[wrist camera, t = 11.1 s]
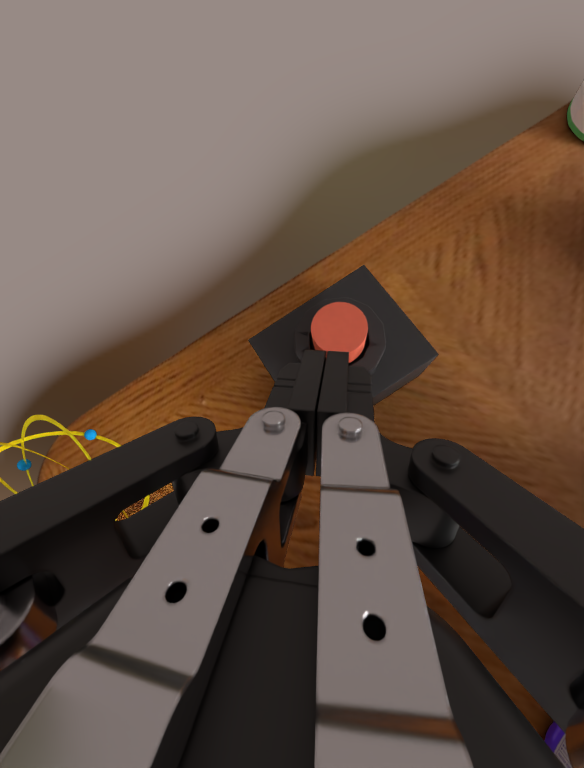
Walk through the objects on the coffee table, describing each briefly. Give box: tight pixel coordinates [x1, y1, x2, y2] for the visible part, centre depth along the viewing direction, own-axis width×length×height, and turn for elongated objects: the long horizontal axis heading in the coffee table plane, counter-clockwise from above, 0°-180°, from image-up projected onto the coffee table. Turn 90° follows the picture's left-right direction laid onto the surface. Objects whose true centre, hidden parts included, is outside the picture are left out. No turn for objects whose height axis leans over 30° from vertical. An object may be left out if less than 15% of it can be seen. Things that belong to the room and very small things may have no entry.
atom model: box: [0, 415, 150, 521], centre depth 27 cm, size 14×15×14 cm
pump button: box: [311, 302, 368, 363], centre depth 24 cm, size 4×4×3 cm
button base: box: [248, 265, 439, 406], centre depth 29 cm, size 12×10×8 cm
